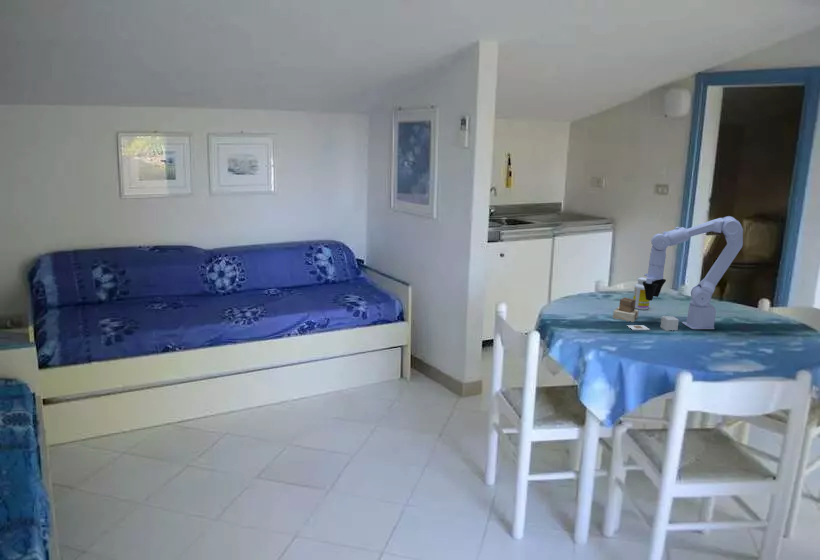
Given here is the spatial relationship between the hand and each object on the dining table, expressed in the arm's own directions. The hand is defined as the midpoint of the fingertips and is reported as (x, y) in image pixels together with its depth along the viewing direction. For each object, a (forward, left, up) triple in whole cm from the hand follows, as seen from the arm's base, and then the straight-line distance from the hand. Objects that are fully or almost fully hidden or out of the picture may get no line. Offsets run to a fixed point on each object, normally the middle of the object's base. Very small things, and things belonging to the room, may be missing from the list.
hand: (652, 298), depth 261 cm
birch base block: (+8, -4, -10) cm, 13 cm away
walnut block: (+8, -4, -6) cm, 11 cm away
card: (+9, +9, -9) cm, 16 cm away
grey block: (-3, +10, -10) cm, 14 cm away
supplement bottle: (-5, -18, -10) cm, 21 cm away
